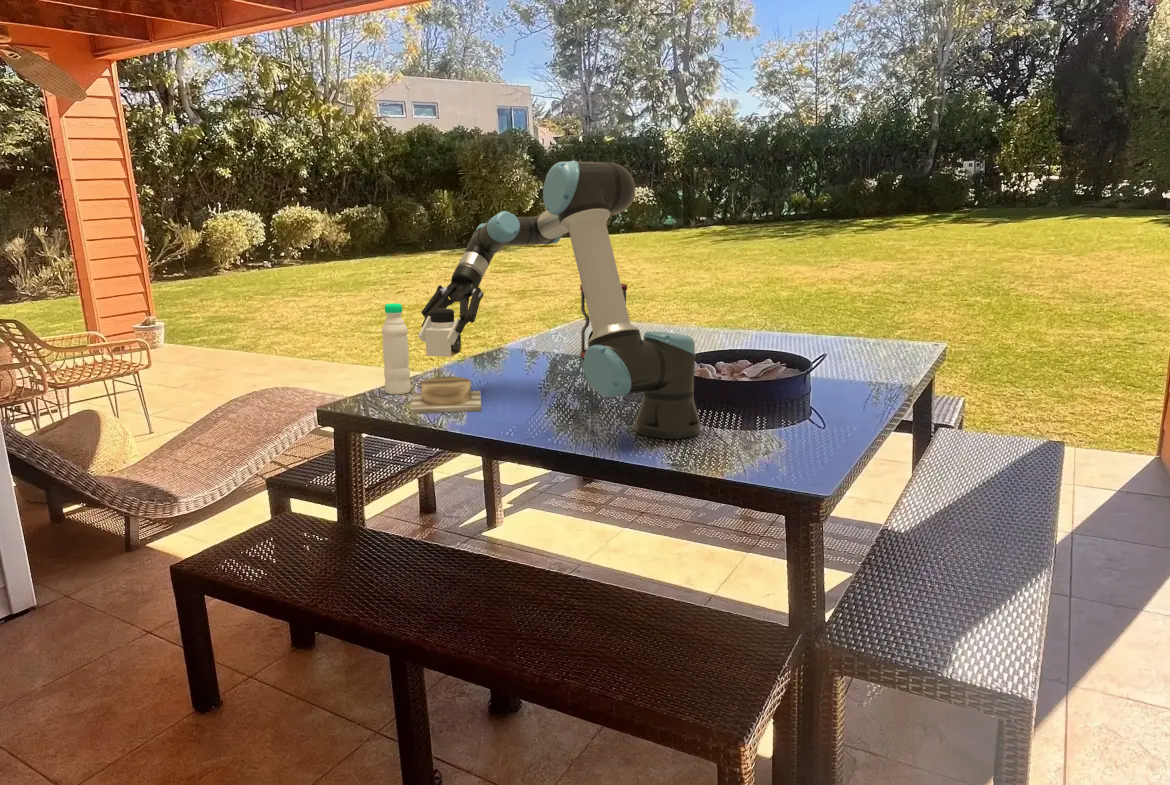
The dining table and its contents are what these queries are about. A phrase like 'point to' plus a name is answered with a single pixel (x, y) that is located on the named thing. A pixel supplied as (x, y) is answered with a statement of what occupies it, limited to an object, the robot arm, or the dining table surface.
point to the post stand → (446, 396)
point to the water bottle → (395, 351)
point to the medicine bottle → (441, 334)
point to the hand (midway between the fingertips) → (435, 340)
